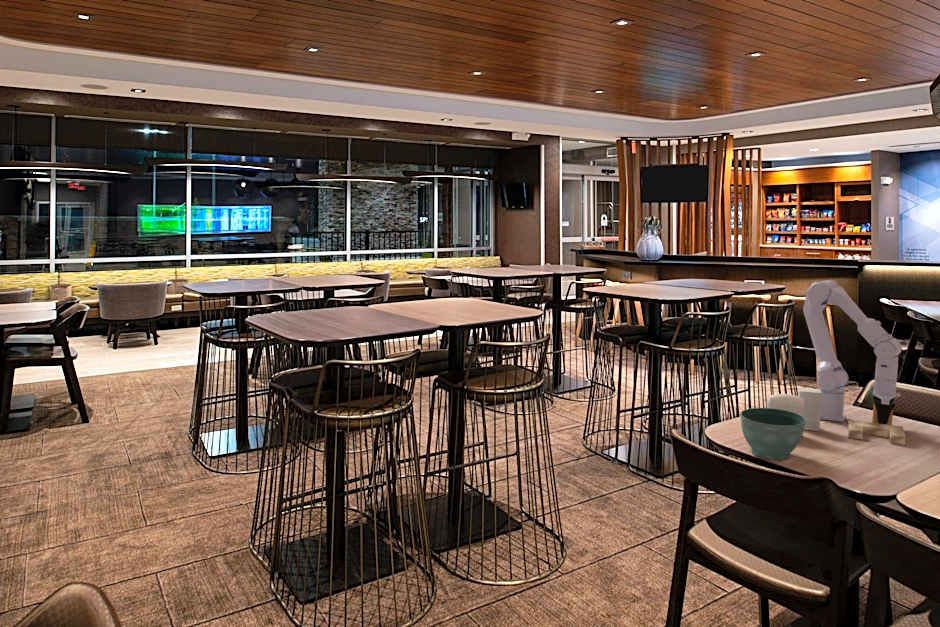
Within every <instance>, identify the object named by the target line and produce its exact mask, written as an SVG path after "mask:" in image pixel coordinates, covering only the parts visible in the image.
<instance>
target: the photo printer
mask: <svg viewBox="0 0 940 627" xmlns="http://www.w3.org/2000/svg"><path fill="white" fill-rule="evenodd" d="M766 408H773V409H781V410H786V411H791V412H794V413H797V414H799V415H801V416H803V417H804V409H805V405H804V399H803V398H801V397H798V395H794V394H788V393H775V394H771V395H768V398H767V401H766Z"/></svg>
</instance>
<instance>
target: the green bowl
mask: <svg viewBox="0 0 940 627" xmlns="http://www.w3.org/2000/svg"><path fill="white" fill-rule="evenodd" d="M740 418H741V419H740V421H741V422H740V423H741V430H742V433H743V437H744V438H745V441H746V442H747V444H748V445H749V447H750V449H751V453H752V454H754V455H755V456H756V457H759V458H761V459H765V460H770V461H771V460H773V461H782V460H787V459H788V458H790V457H791V453H792V452H793V451H794V450H795V449H796V448H797V447H798V445H799V444H800V442H801V440H802V437H803V434H804V431H805V430H804V426H805V423H806V419H805V418H804V417H803V416H801V415H799V414H797V413H794V412H791V411H786V410H781V409H773V408H767V407H752V408H746V409H744V410H741V411H740Z"/></svg>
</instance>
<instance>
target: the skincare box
mask: <svg viewBox="0 0 940 627" xmlns="http://www.w3.org/2000/svg"><path fill="white" fill-rule="evenodd" d="M815 389H816V388H798V389H797V391H798V393H797V396H798V397H801V398H803V399H804V405H805V409H804V418H805V419H806V423H805V426H804V431H810V430H811V431H812V432H820V424H821V423H820V422H821V419H820V411H821V395H822V393H821V392H820V390H815Z"/></svg>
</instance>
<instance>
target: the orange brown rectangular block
mask: <svg viewBox="0 0 940 627" xmlns="http://www.w3.org/2000/svg"><path fill="white" fill-rule="evenodd" d="M872 407H873V409H872V417H871V418H872V420H871V423H878V417H877V410H876V407H875V404H874V403H873V406H872ZM893 416H894V409H893V410H892V411H891V414H890V416H889V420H888V423H887V425H893V418H894V417H893ZM878 424H879V423H878Z"/></svg>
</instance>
